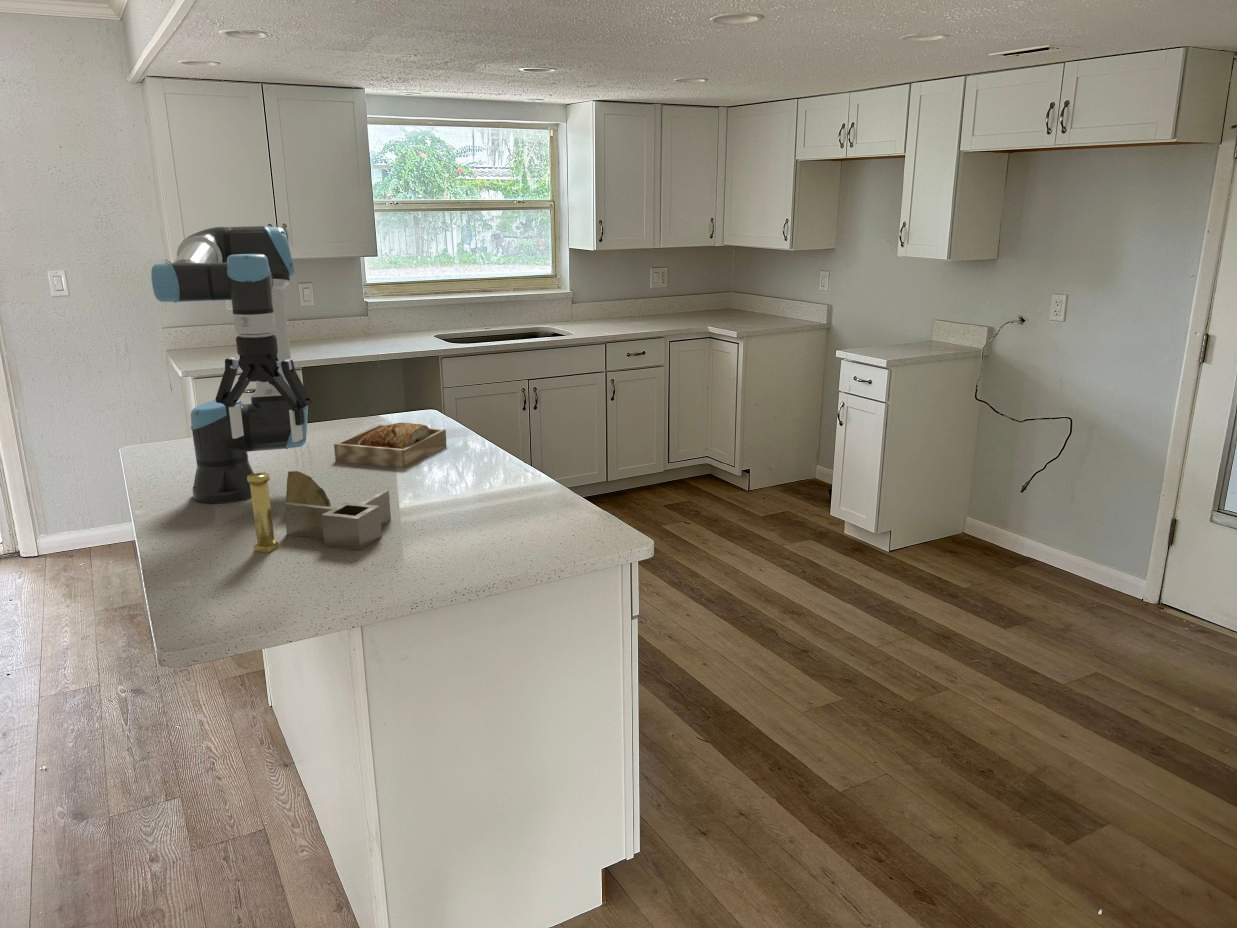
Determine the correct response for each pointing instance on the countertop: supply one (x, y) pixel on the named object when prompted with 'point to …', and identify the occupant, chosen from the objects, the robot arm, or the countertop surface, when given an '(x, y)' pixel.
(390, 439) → the bread
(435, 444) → the bread crate
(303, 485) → the rock
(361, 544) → the hinge
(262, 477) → the hinge pin
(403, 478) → the countertop surface
